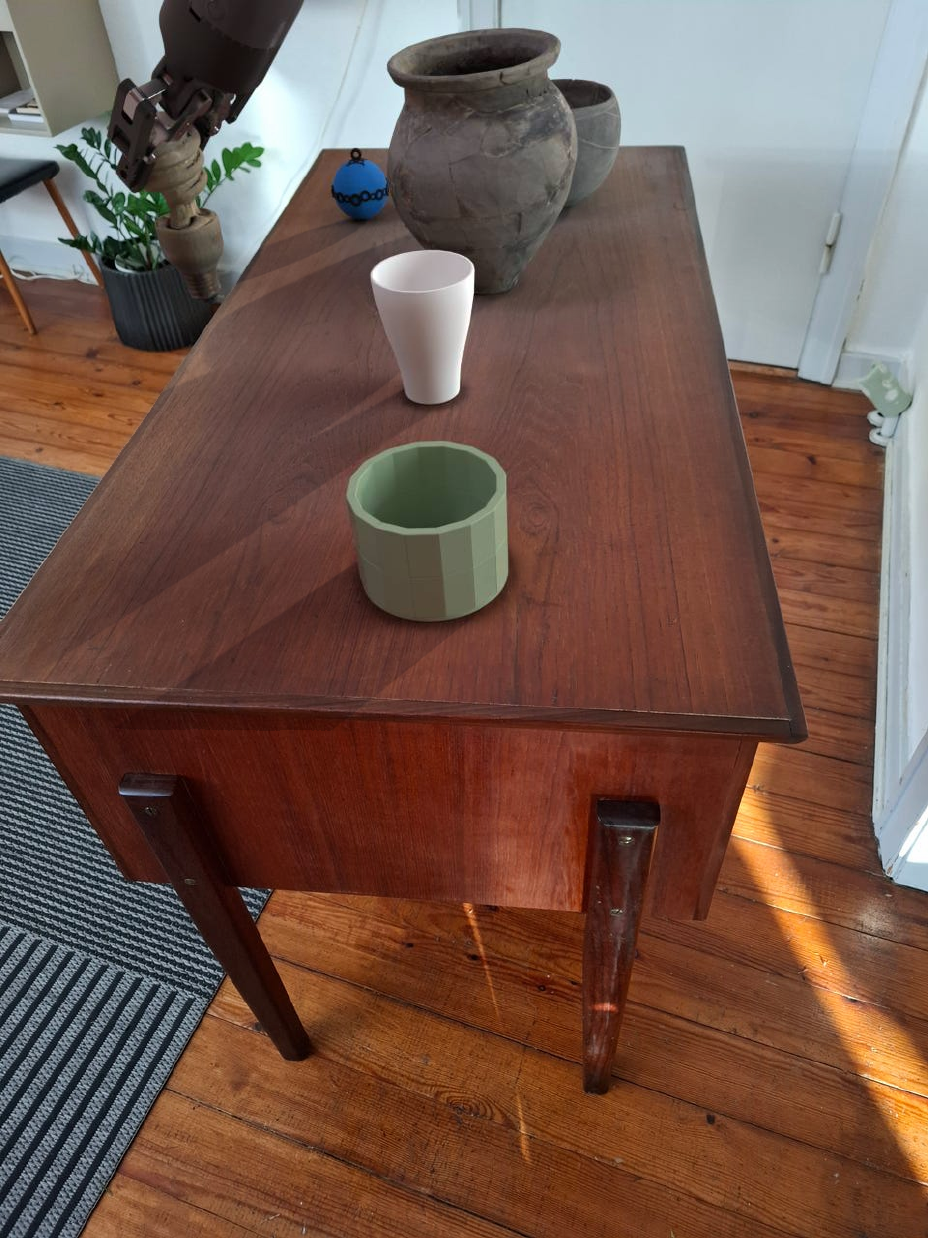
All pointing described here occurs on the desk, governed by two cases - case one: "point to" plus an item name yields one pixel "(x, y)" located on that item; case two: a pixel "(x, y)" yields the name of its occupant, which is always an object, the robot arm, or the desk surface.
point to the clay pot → (482, 148)
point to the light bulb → (187, 215)
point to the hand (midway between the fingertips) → (155, 169)
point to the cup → (426, 318)
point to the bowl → (591, 133)
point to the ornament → (360, 187)
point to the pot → (430, 529)
